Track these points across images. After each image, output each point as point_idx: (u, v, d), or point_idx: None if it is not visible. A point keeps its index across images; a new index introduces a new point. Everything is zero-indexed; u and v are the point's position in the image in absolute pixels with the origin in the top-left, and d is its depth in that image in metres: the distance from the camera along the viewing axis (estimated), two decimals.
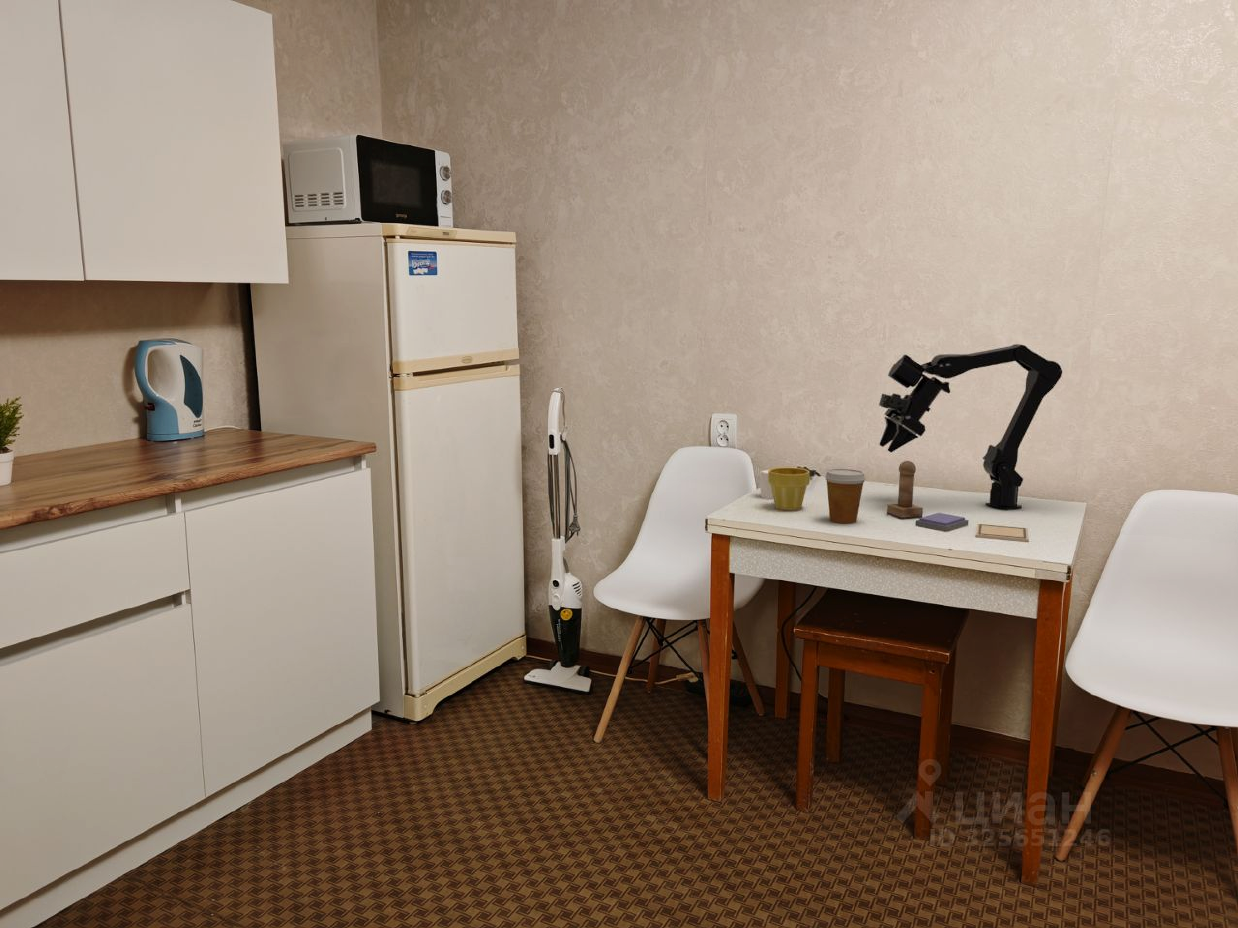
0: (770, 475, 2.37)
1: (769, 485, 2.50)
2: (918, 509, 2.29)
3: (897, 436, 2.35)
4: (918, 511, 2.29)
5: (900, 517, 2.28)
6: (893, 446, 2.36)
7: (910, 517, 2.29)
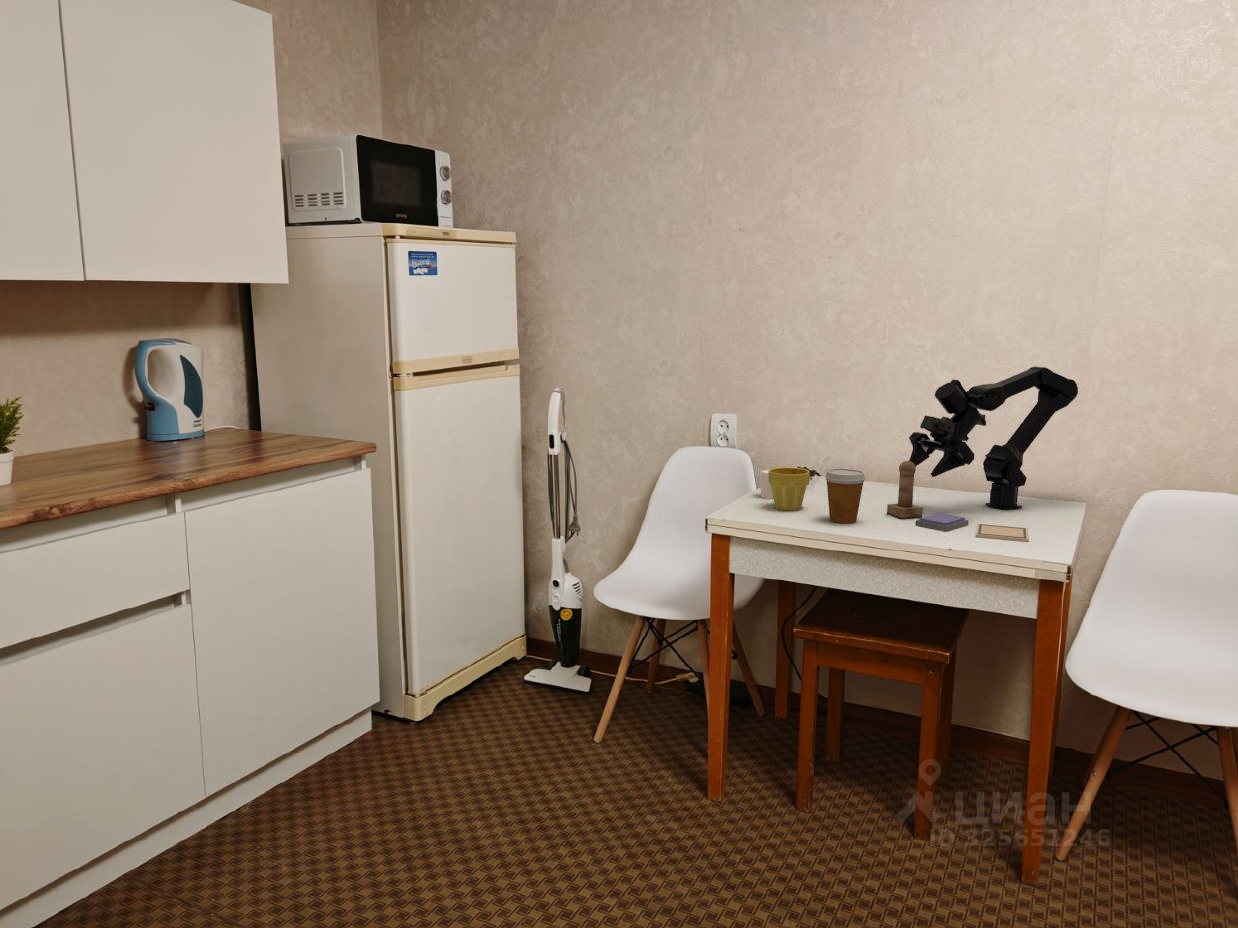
0: (770, 475, 2.37)
1: (769, 485, 2.50)
2: (918, 509, 2.29)
3: (944, 461, 2.26)
4: (918, 511, 2.29)
5: (900, 517, 2.28)
6: (937, 471, 2.26)
7: (910, 517, 2.29)
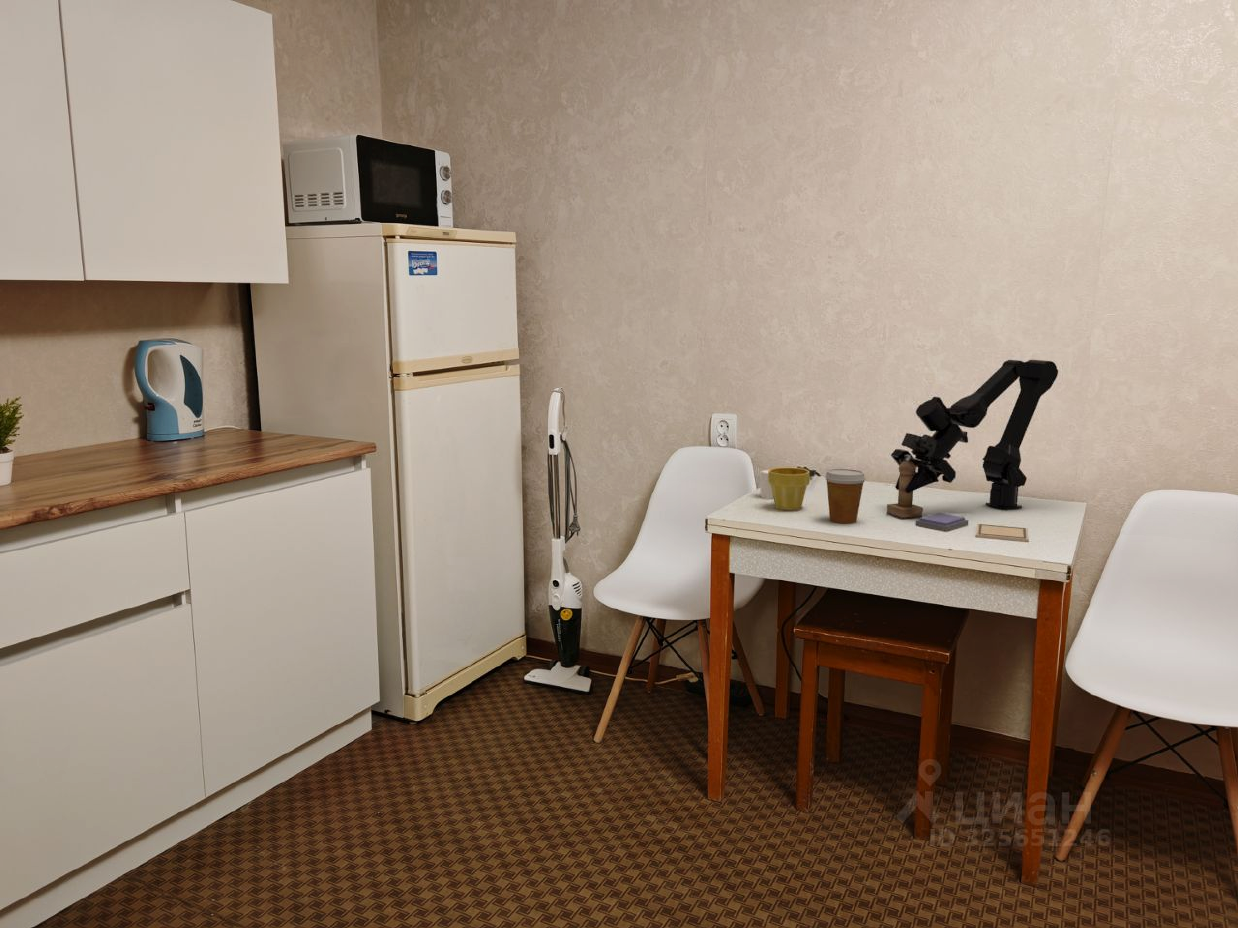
0: (770, 475, 2.37)
1: (769, 485, 2.50)
2: (918, 509, 2.29)
3: (918, 477, 2.27)
4: (918, 511, 2.29)
5: (900, 517, 2.28)
6: (911, 487, 2.28)
7: (910, 517, 2.29)
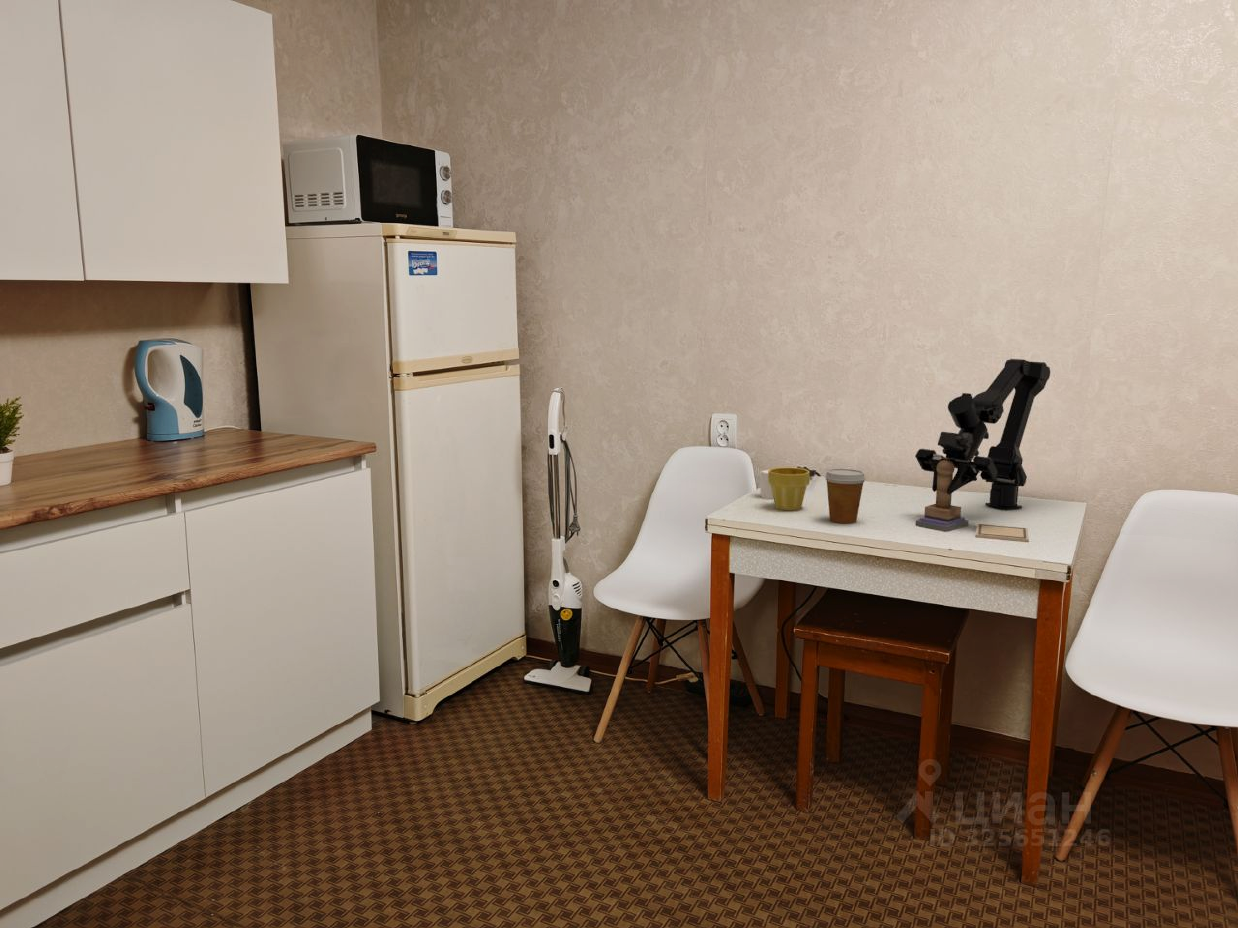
0: (770, 475, 2.37)
1: (769, 485, 2.50)
2: (958, 509, 2.21)
3: (960, 477, 2.19)
4: (958, 511, 2.21)
5: (945, 519, 2.19)
6: (953, 488, 2.19)
7: (953, 518, 2.20)
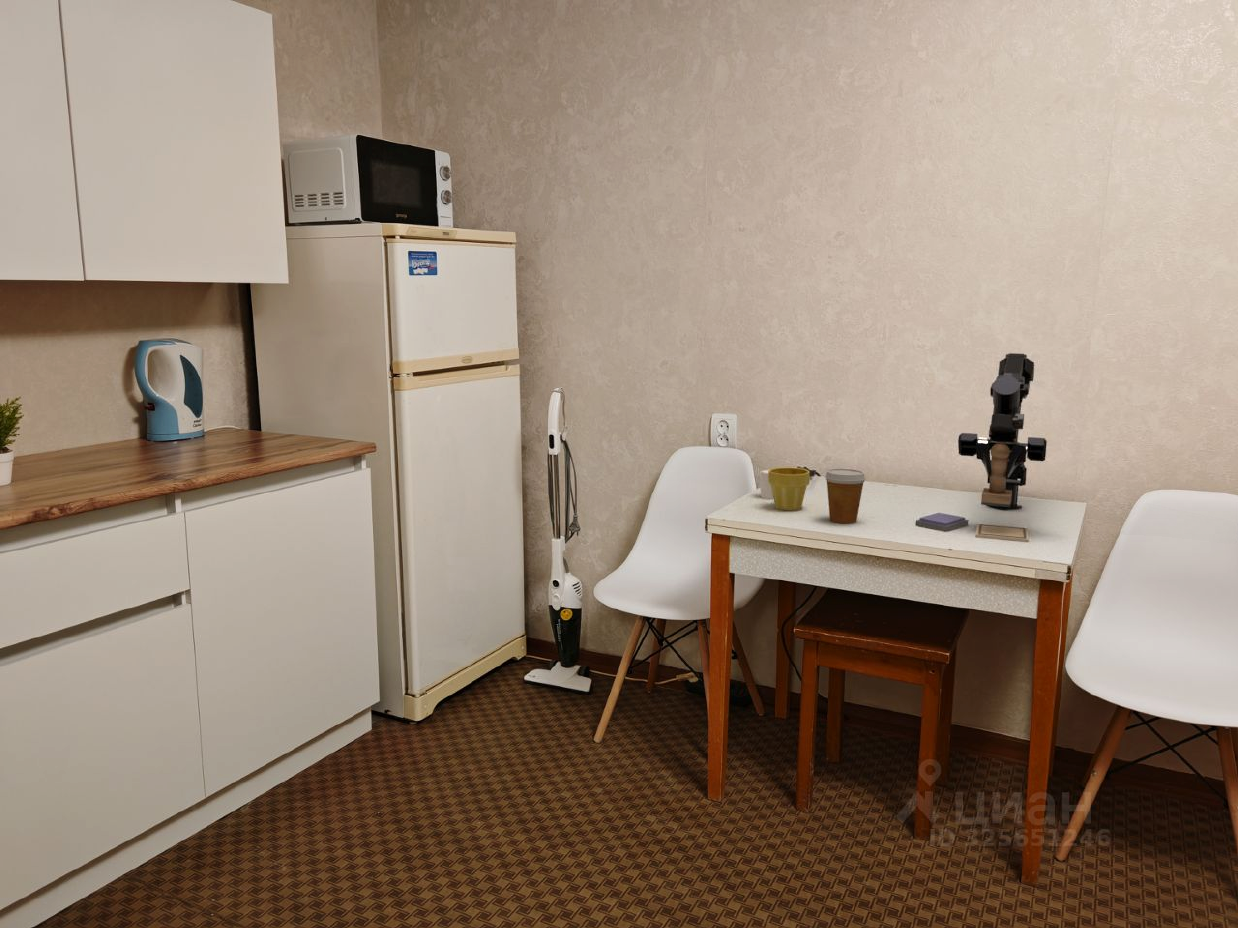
0: (770, 475, 2.37)
1: (769, 485, 2.50)
2: (1011, 493, 2.14)
3: (1015, 460, 2.12)
4: (1011, 495, 2.14)
5: (1006, 504, 2.11)
6: (1010, 471, 2.12)
7: (1010, 502, 2.13)
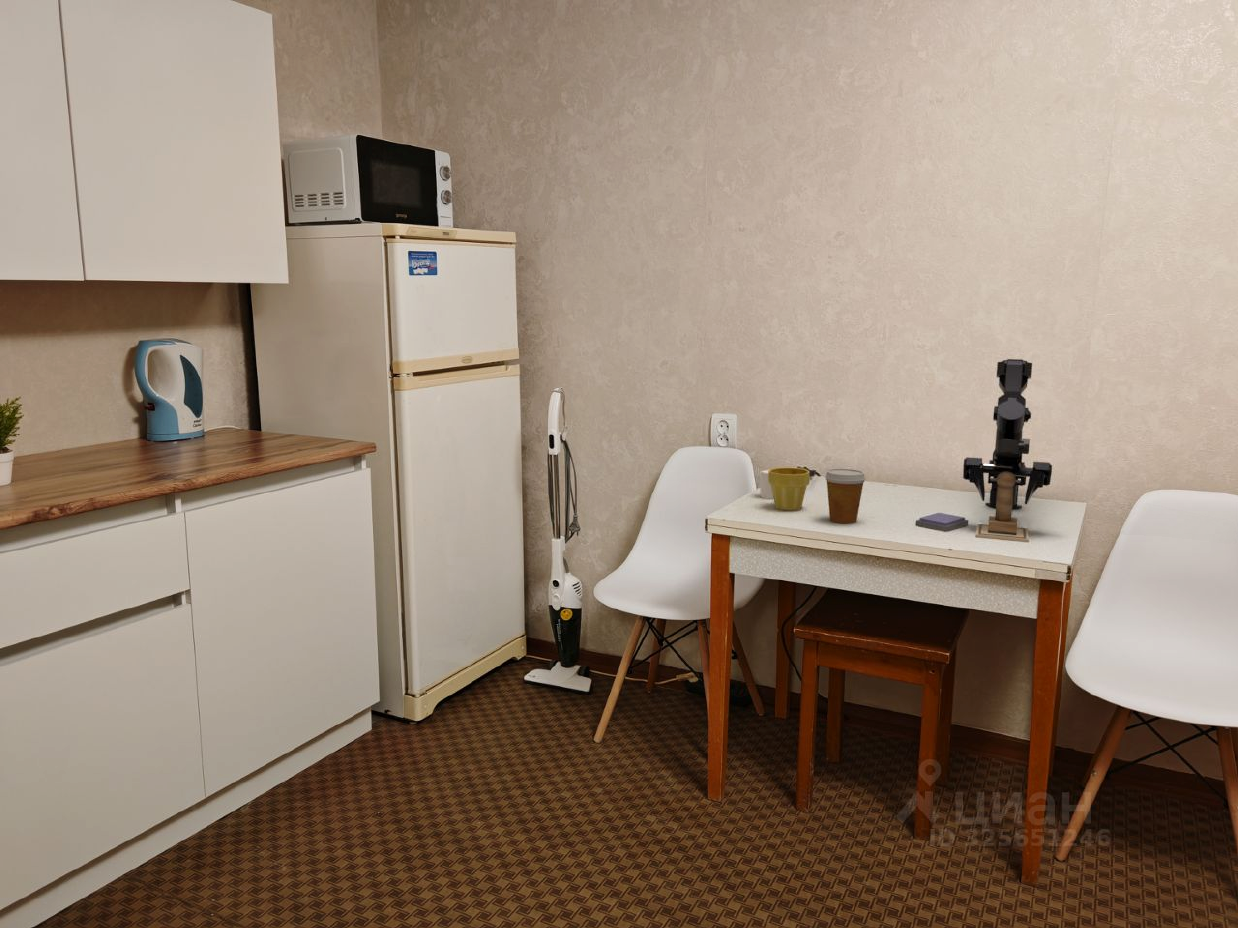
0: (770, 475, 2.37)
1: (769, 485, 2.50)
2: (1016, 521, 2.15)
3: (1034, 485, 2.11)
4: None
5: (1013, 533, 2.11)
6: (1029, 497, 2.11)
7: None
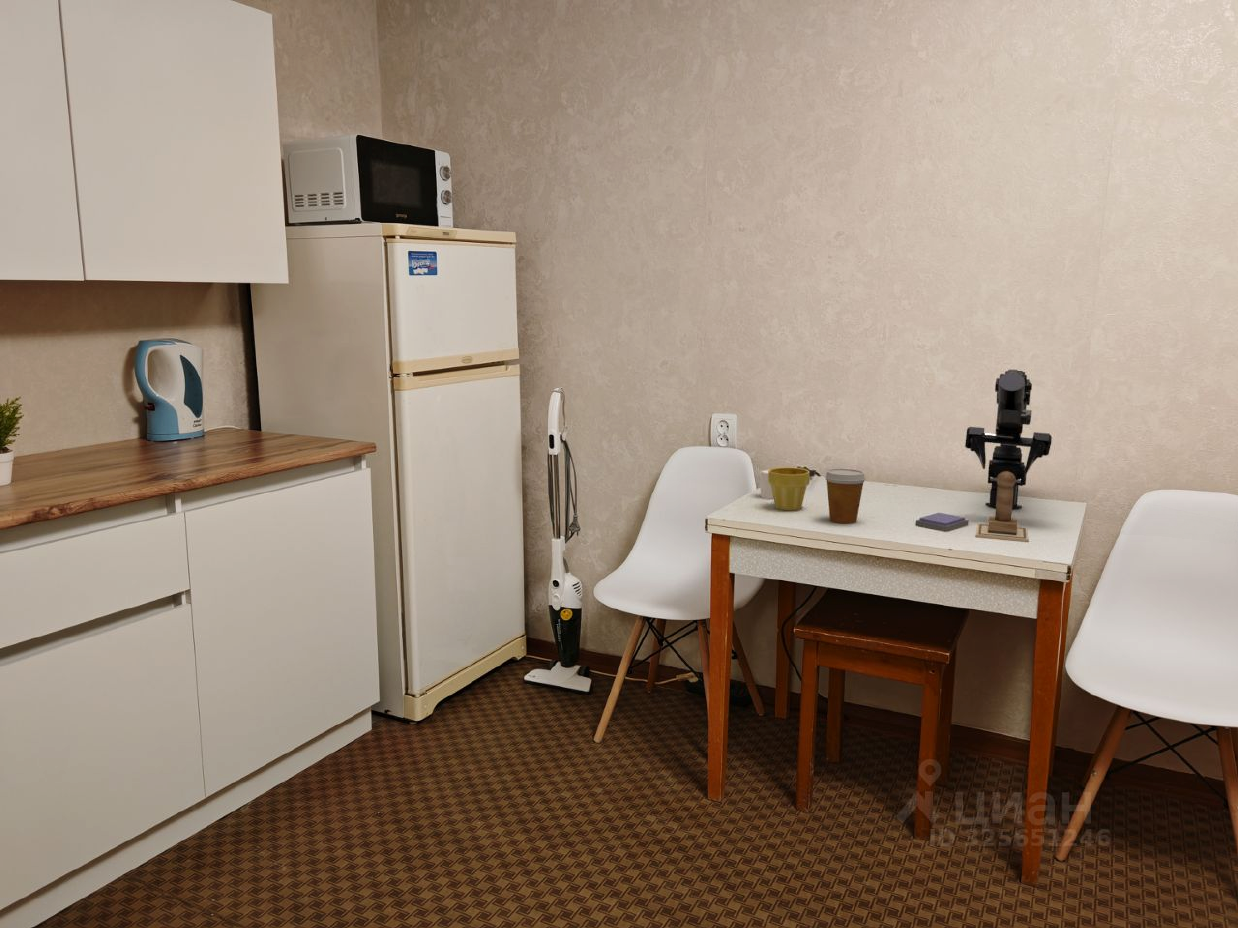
0: (770, 475, 2.37)
1: (769, 485, 2.50)
2: (1016, 521, 2.15)
3: (1034, 455, 2.19)
4: None
5: (1013, 533, 2.11)
6: (1029, 466, 2.19)
7: None
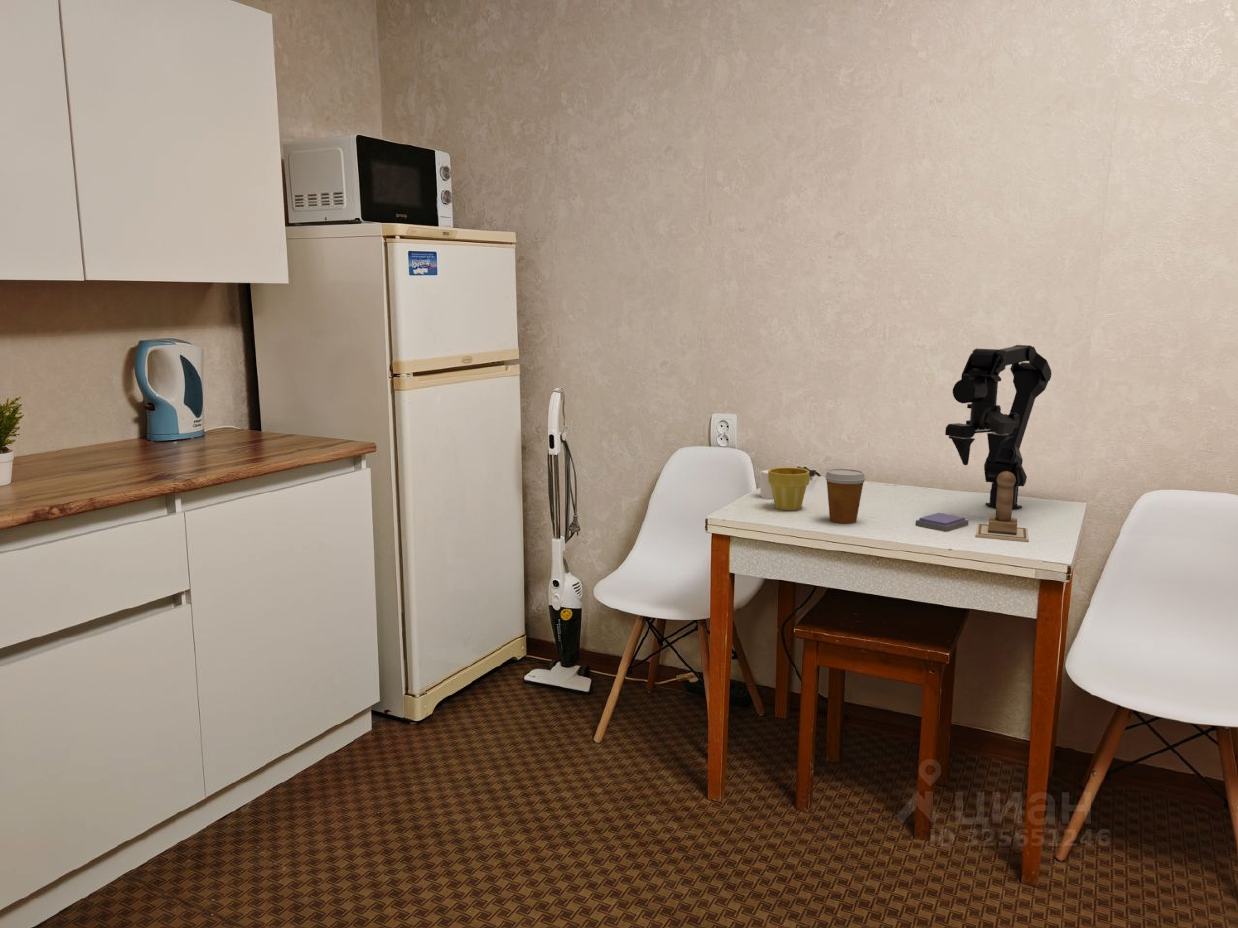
0: (770, 475, 2.37)
1: (769, 485, 2.50)
2: (1016, 521, 2.15)
3: None
4: None
5: (1013, 533, 2.11)
6: None
7: None
